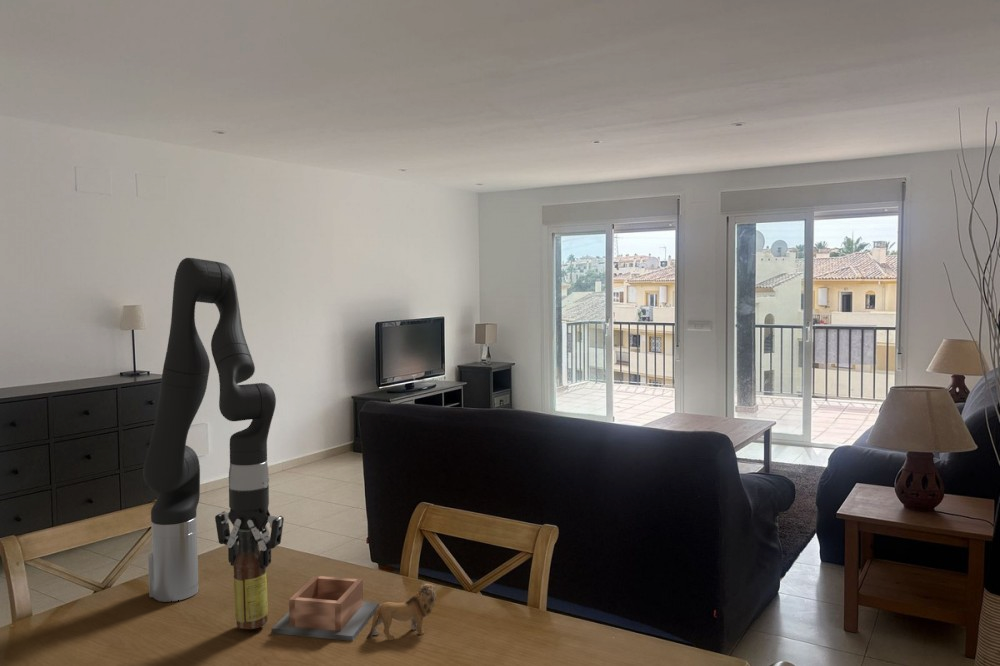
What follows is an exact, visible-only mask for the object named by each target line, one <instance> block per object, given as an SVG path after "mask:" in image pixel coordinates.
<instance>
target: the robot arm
mask: <svg viewBox="0 0 1000 666" xmlns="http://www.w3.org/2000/svg"><path fill="white" fill-rule="evenodd" d="M197 303H206V304H215V307H216V308H217V310H218V312H219V320H218V322H217V324H216V327H215V329H214V332H213V334H212V336H211V343H210V347H211V350H210V351H211V354H212V358H213V360H214V363H215V364H214V365H215V367H216V370H217V373H218V380H219V399H218V407H219V412H220V414H221V415H222V417H223V418H225V419H226V420H227V421H229V422H241V421H247V420H249V421H250V420H251V422H250V423H249V425H248V427H246V428H244V429H242V430H239V431H237V432H235V433H233V434H232V435H231V436H230V437H229V468H228V469H229V470H228V506H229V508H230V509H229V512H226V511H225V510H224V511H221V512H220V513H219V514H216V515H215V517H214V521H215V528H216V532H217V538H218V543H219V544H220V545H225V546H227V550H228V551H227V552H228V562H229V563H230V566H231V567H233V566H234V561H235V558H236V556H237V554H238V552H239V549H238V548H239V538H238V536H237V533H238V530H240V529H244V530H251V531H252V533H253V535H254V538H255V540H256V541H258V545H259V547H260V568H262V569H265V568H266V569H267V567H269V565H270V564H271V563H272V550H273V549H275V548H276V547H277V546H279V545H281V541H282V534H283V527H284V520H285V519H284V516H282V515H279V516H274V515H271V514H270V511H269V504H270V495H269V494H270V491H269V490H270V486H269V483H270V477H269V476H270V475H269V474H270V473H269V467H268V466H269V465H268V437H269V433H270V429H271V424H272V420H273V416H274V413H275V409H276V404H277V403H276V402H277V399H276V398H277V396H276V393H275V391H274V389H273V388H272V387H271V385H269V384H268V383H265V382H260V383H259V382H257V383H246V384H242V383H243V382H246V381H248V380H249V379H251V378H252V377H253V375H254V374H255V372H256V367H255V363H254V360H253V357H252V354H251V351H250V349H249V346H248V343H247V340H246V338H245V337H246V336H245V333H244V330H243V329H244V328H243V324H242V318H241V310H240V304H239V296H238V291H237V286H236V280H235V277H234V273H233V271H232V269H231V267H230V266H229V265H228V264H227V263H226V264H225V263H223V262H220V261H214V260H207V259H201V258H195V257H186V258H183V259H182V260H181V261H180V262H179V263H178V265H177V268H176V271H175V275H174V281H173V292H172V303H171V304H172V306H171V317H170V318H171V319H170V320H171V321H170V326H169V328H170V329H169V335H168V342H167V348H166V353H165V358H164V363H163V369H162V375H161V380H160V386H159V387H160V389H159V395H158V401H157V406H156V413H155V421H154V425H153V426H154V427H153V430H152V434H151V437H150V441H149V446H148V449H147V452H146V456H145V460H144V463H143V467H142V475H143V479H144V482H145V484H146V486H147V488H149V490H151V491H152V492H153V493H155V494H158V495H157V498H156V500H155V502H154V503H153V506H152V507H151V510H150V522H151V523H150V524H151V553H149V554H148V557H147V563H148V564H147V566H148V568H147V569H148V588H149V589H148V592H149V594H148V596H149V598H153V599H154V600H155V601H158V602H163V603H167V602H169V603H171V601H172V602H178V600H179V601H182V600H185V599H189V598H191V597H193V596H195V595H196V594H197V593H198V591H199V561H198V559H199V558H198V556H199V555H198V527H197V525H198V523H197V521H198V520H197V519H198V518H197V508H198V506H199V502H200V497H201V496H200V495H201V492H200V491H201V465H200V460H199V457H198V455H197V453H196V451H195V450H194V449H193V448H191V446H189V445H187V439H188V434H189V430H190V428H191V426H192V423H193V421H194V419H195V417H196V415H197V413H198V412H199V409H200V407H201V405H202V402H203V401H204V400H203V399H204V398H205V394H206V392H207V391H206V390H207V387H208V380H209V376H210V375H209V374H210V368H211V362H210V358H209V355H208V352H207V349H206V348H205V346H204V343H203V341H202V340H201V337H200V335H199V333H198V330H197V326H196V322H195V321H196V319H195V317H196V316H195V315H196V314H195V313H196V304H197ZM230 522H231V524H232V526H233V527H232V529H231V530H230V524H229V523H230ZM268 523H269V528H270V531H269V529H268V526H267V524H268Z"/></svg>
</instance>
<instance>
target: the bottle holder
mask: <svg viewBox="0 0 1000 666" xmlns="http://www.w3.org/2000/svg"><path fill="white" fill-rule="evenodd" d="M363 581H364V579H361V578H360V579H359V578H348V577H337V576H323V575H314V576H313V577H312V578H311V579H309V581H307V582H306V584H304V585H303V586H301V588H300V589H299V590H298V591H297V592H296V593H294V594H293V595H292V596H291V597H290V598H289V599H288V603H289V605H288V606H289V608H288V609H289V611H288V612H287V613H286V614H285V615H283V617H282V618H281V619H280V620H279V621H278V622H276V624H275V625H273V626H272V627H271V634H276V635H286V636H299V637H307V638H308V637H309V638H319V639H327V640H328V639H329V640H339V641H349V642H353V641H354V640H355V639H356V637H357V636H358V635H359V633H360V632H361V631H362V630H363V629H364V627H365V626H366V624H368V623H369V621H370V619H371V618H373V617H374V614H375V611H376V610H377V608H378V607H379V606H380V602H378V601H377V602H376V601H365V600H364V582H363Z"/></svg>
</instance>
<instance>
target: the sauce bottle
mask: <svg viewBox="0 0 1000 666" xmlns="http://www.w3.org/2000/svg"><path fill="white" fill-rule="evenodd" d="M237 536H238V538H239V542H238V545H239V548H238V549H239V552H238V554H237V556H236V558H235V561H234V566H232V567H233V589H234V592H233V593H234V611H235V612H234V613H235V614H234V615H235V616H234V617H235V620H236V626H237V627H238V628H239V629H244V630H255V629H258V628H261V627H263V626H264V625H265V624H266V623H267V622H268V614H269V605H268V584H267V582H268V581H267V579H268V578H267V567H266V568H265V569H262V568H260V551H261V549H260V548H259V547H260V545H259V543H258V541H256V540H255V538H254V535H253V533H252V531H251V530H244V529H240V530H238V533H237Z"/></svg>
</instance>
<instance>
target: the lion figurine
mask: <svg viewBox="0 0 1000 666" xmlns="http://www.w3.org/2000/svg"><path fill="white" fill-rule="evenodd" d="M436 589H437V587H436V585H433V584H432V583H431V584H430V583H423V584H422V585H419V586H418V589H417V590H418V591H417V592H415V593H414V594H413V596H411V598H410V599H408V600H407V601H403V602H393V601H386V602H383V603H381V604H379V607H378V608H377V610H376V611H375V613H374V614H373V616H372V622H371V628H370V631H369V633H368V635H367V636H366V637H365V639H366V640H369V639H371V637H372V635H374V636H378V635H379V634H380V630H377V628H378V626H380V625H381V624H382V623H383V634H384V635H385V637H386V638H387V640H389V641H394V640H395V636H394V635H393V634H392V635H391V634H390V628H391V626H392V622H393V620H396V621H399V622H408V621H411V629H412V631H415V629H416V632H417V634H418V635H419V634H420V635H419V636H423V635H424V634H425V631H424V630H422V628H423V622H424V621H423V619H424V618H425V617H428V616H429V615H430V614H431V613H432V611H433V609H434V607H435V605H436V601H437V597H438V594H437V591H436ZM422 634H423V635H422Z"/></svg>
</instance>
